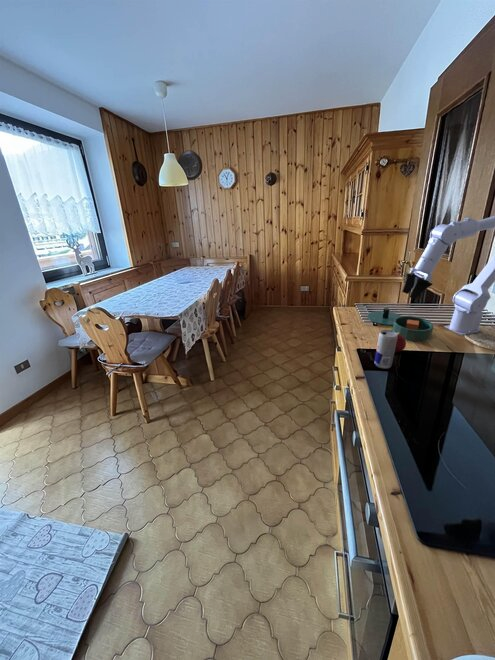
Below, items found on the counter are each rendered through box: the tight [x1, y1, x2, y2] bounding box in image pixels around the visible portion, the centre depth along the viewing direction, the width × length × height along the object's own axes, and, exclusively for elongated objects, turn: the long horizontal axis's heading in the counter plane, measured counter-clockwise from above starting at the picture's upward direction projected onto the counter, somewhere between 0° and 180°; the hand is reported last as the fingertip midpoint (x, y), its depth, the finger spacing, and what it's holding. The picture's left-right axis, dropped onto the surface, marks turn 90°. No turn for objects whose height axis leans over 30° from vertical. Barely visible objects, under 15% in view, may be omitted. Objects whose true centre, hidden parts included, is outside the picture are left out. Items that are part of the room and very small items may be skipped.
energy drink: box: [373, 329, 398, 370], centre depth 93 cm, size 5×5×12 cm
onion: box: [394, 332, 407, 353], centre depth 100 cm, size 6×6×8 cm
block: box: [405, 319, 419, 330], centre depth 113 cm, size 4×4×4 cm
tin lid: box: [367, 307, 402, 326], centre depth 124 cm, size 14×14×5 cm
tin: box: [391, 315, 434, 342], centre depth 112 cm, size 13×13×5 cm
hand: (408, 295), depth 104 cm, fingers open, 7 cm apart
